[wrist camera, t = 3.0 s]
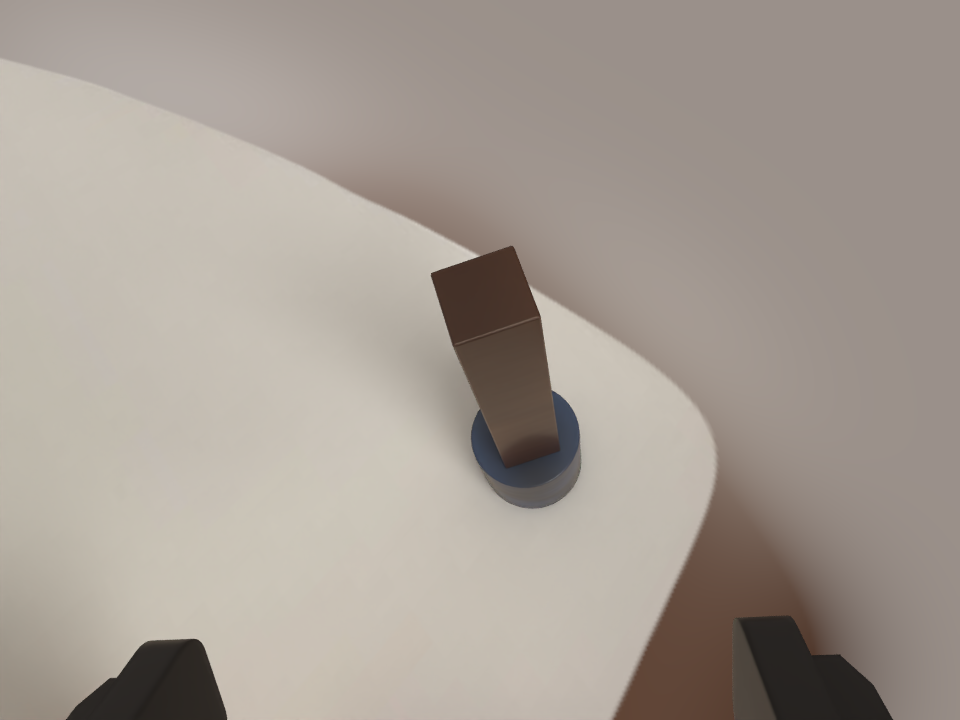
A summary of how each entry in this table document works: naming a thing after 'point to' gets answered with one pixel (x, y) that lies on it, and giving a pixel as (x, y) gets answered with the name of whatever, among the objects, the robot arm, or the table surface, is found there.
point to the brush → (509, 380)
